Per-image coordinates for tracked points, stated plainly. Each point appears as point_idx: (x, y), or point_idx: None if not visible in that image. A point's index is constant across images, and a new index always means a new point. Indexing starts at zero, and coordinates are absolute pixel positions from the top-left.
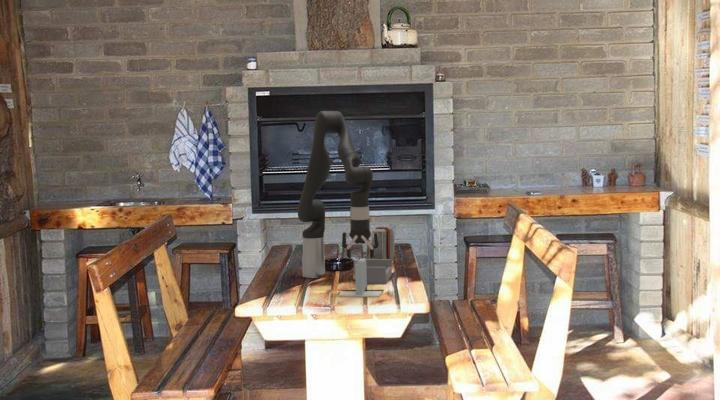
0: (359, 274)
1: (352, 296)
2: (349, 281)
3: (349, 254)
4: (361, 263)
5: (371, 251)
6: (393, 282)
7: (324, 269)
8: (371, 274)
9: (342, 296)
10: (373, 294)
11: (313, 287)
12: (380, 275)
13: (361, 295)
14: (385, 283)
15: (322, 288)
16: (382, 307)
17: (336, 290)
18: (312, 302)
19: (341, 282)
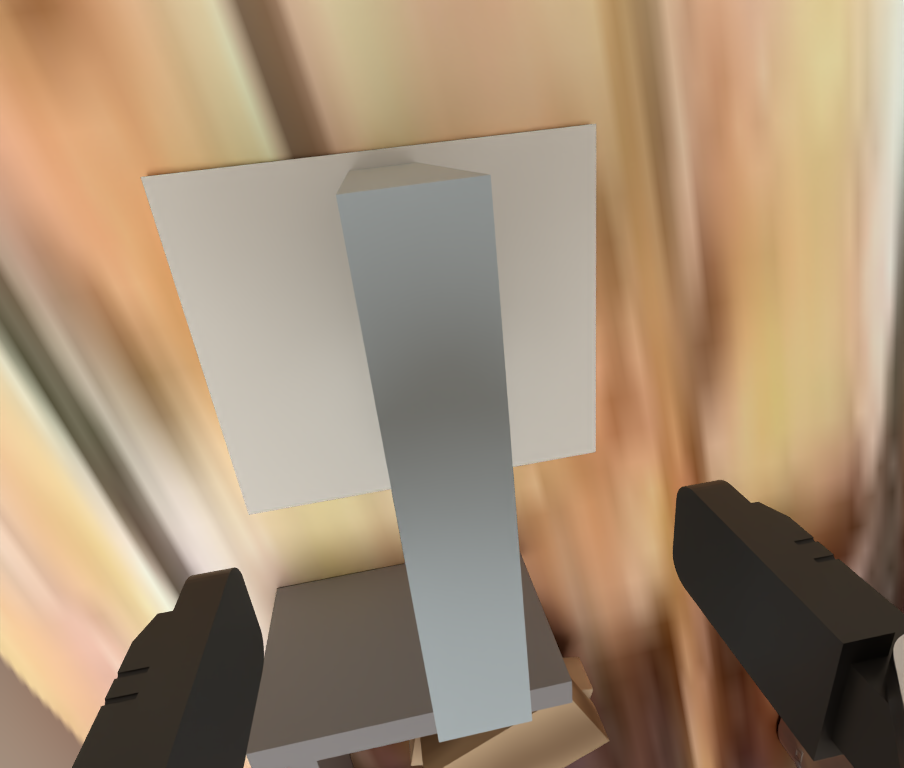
0: (377, 176)
1: (446, 141)
2: (603, 658)
3: (756, 532)
4: (376, 333)
5: (123, 746)
6: None
7: (810, 766)
8: (402, 649)
9: (551, 130)
10: (233, 224)
11: (837, 441)
12: (313, 660)
13: (349, 153)
14: (276, 609)
15: (769, 425)
16: None
17: (651, 383)
18: None
19: (653, 621)
